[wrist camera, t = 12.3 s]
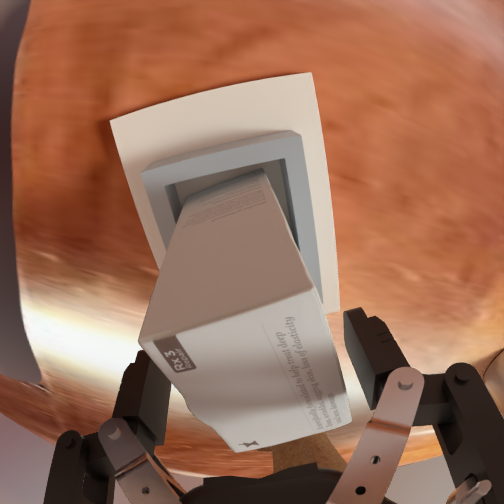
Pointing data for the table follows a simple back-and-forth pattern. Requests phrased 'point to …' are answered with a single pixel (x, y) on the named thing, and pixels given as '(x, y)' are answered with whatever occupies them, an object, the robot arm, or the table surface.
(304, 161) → the socket board
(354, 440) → the table surface
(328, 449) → the tan flared vase
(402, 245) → the table surface
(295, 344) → the skincare box
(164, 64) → the table surface
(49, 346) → the table surface
